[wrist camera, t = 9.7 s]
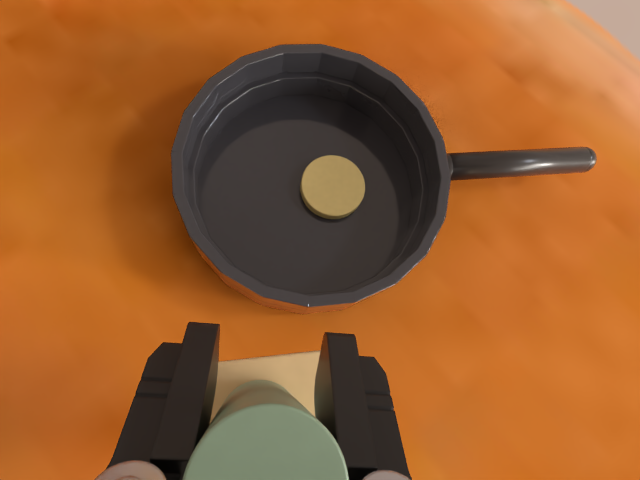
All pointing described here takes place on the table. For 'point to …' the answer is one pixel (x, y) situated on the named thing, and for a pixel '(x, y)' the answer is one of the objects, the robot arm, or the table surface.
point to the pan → (288, 167)
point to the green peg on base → (266, 424)
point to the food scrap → (332, 187)
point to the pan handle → (520, 162)
